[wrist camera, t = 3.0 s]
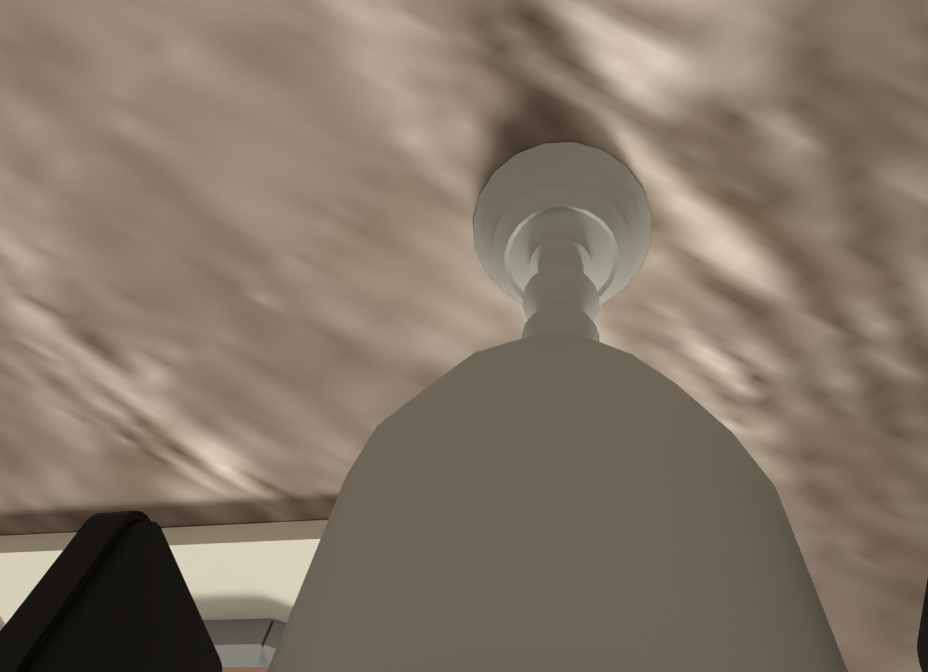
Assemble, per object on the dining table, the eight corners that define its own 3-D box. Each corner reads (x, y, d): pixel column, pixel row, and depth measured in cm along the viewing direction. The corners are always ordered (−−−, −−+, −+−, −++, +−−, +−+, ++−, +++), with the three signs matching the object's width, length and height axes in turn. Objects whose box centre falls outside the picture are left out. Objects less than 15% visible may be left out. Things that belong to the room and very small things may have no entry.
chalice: (392, 180, 21) (-87, 851, 6) (610, 49, 19) (837, 549, 3) (521, 377, 24) (440, 1231, 8) (727, 281, 22) (1175, 1200, 6)
